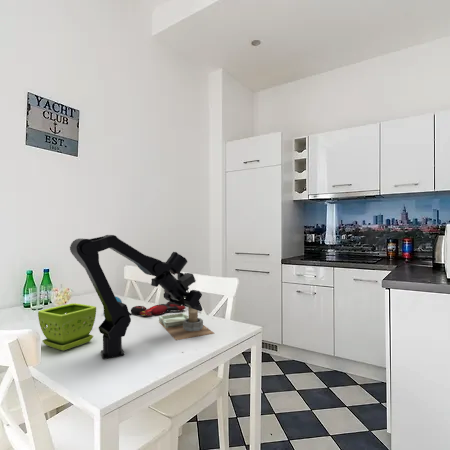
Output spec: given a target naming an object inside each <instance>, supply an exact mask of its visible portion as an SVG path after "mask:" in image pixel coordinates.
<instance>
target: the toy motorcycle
mask: <svg viewBox="0 0 450 450" xmlns="http://www.w3.org/2000/svg"><path fill="white" fill-rule="evenodd" d="M186 309H187V307H186V306H183V305H180V304H176V303H173V302H170V301H168V302H166V303H161V304H155V305H152V306H150V307H149V308H147V307H145V306H144V305H136V306H133V307H131V309H130V314H131V315H132V314H133V315H135V316H161V315H162V314H163V315H164V313H167V312H173V311H174V312H175V311H176V312H178V311H180V312H181V311H183V310H186Z"/></svg>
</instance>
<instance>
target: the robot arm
mask: <svg viewBox="0 0 450 450" xmlns="http://www.w3.org/2000/svg"><path fill="white" fill-rule="evenodd" d="M107 249H110V250H111V251H113V252H115V253H116V254H119V255H120V256H122V257H124V258H126V259H127V260H129V261H130V262H132V263H134V264H135V265H136V266H137V268H138V269H139V270H140V271H142V272H143V274H145V275H147V276H152V277H154V278H151V283H150V286H152V287H155V288H157V287H159V286H160V287H161V288H163V292H164V293H163V299H165V300H166V301H168V302H169V301H170V302H173V303H176V304H180V305H181V306H185V307H186V308H188V307H189V308H192V309H195V310H198V311H199V312H202V311H203V307H202V304H201V301H200V300H201V298H202V297H203V293H202V292H201V291H200V290H197V289H192V290H190V291H188V290H189V289H190V287H189V286H191V285H192V284H193V283H196V281H197V280H196V278H195V276H194V275H195V274H194V273H190V272H185V273H183V272H181V271H183V269H184V267H185V266H186V265H187V263H188V259H187V258H186V257H185V256H183V255H182V254H179V253H178V252H177V251H173V252H172V253H171V254H170V256H169V257H168V259H167V260H166V261H162V260H160V259H158V258H156V257H152V256H149V255H146V254H145V253H144V254H143V252H141V251H139V250H138V249H136V248H134V247H133V246H131V245H130V244H128V243H127V242H125V241H124V240H122V239H120V238H119V237H118V236H116V235H114V234H106V235H103V236H98V237H94V238H93V237H92V238H76V239H74V240H73V241H72V242H71V244H70V246H69V251H70V253H71V254H72V256H73V257H74V259H76V261H77V262H78V263H79V264H80V265H81V266H82V267H83V269H84V270H85V272H86V274H87V276H88V277H89V280H90V281H91V282H90V283H91V284H92V286H93V288H94V290H95V292H96V293H97V296H98V298H99V301H100V302H101V304H102V305H103V307H102V308H103V316H104V320H103V321H102V322H101V324H100V325H99V326H98V331H99V334H102V350H100V353H101V358H102V359H103V360H105V359H111V358H115V357H116V358H117V357H122V356H124V355H125V352H124V349H123V341H122V340H123V339H122V338H123V337H125V335H126V333H127V330H128V328H129V326H130V324H131V321H132V318H131V316H132V313H131V312H130V311H129V308H128V305H127V304H126V303H124V302H122V303H121V302H119V301H117V300H116V298H115V296H116V295H115V294H114V292H113V289H112V287H111V285H110V283H109V281H108V279H107V277H106V275H105V273H104V270H103V269H102V267H101V264H100V256H99V255H100V254H99V252H100V253H101V252H103V251H105V250H107ZM174 275H176V276H177V278H176V277H175V276H174Z"/></svg>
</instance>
